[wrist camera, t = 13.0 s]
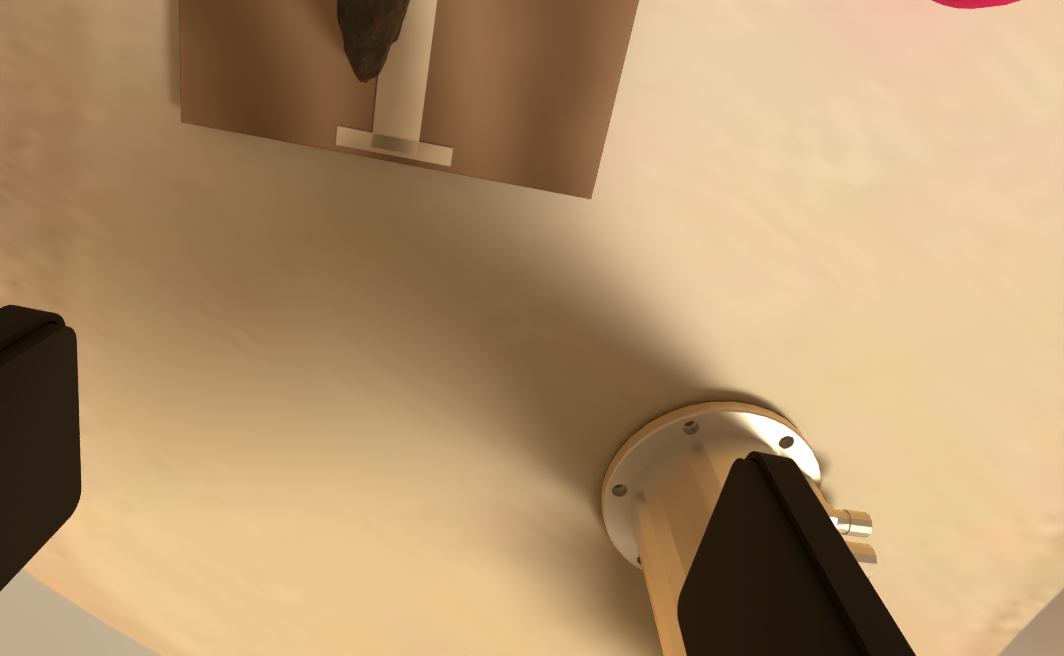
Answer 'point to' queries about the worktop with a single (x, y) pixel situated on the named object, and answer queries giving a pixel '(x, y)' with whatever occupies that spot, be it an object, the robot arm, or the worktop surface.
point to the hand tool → (369, 32)
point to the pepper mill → (974, 3)
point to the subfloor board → (418, 83)
